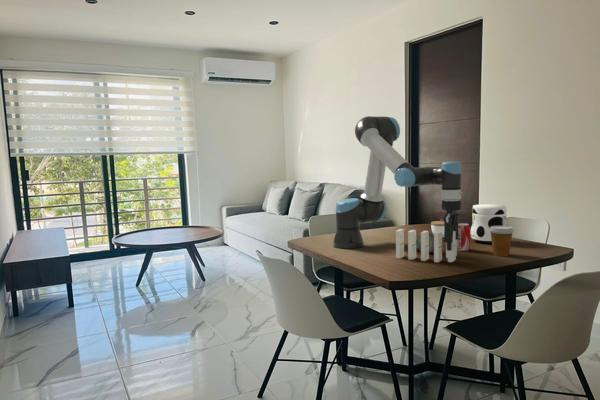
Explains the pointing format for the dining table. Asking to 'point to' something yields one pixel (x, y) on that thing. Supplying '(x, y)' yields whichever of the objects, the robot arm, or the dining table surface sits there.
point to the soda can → (463, 237)
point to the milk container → (487, 220)
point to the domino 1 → (400, 243)
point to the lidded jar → (438, 227)
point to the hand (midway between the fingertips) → (451, 256)
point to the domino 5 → (453, 248)
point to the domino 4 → (437, 246)
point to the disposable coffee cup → (501, 239)
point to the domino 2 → (411, 244)
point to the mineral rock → (431, 242)
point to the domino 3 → (424, 245)
